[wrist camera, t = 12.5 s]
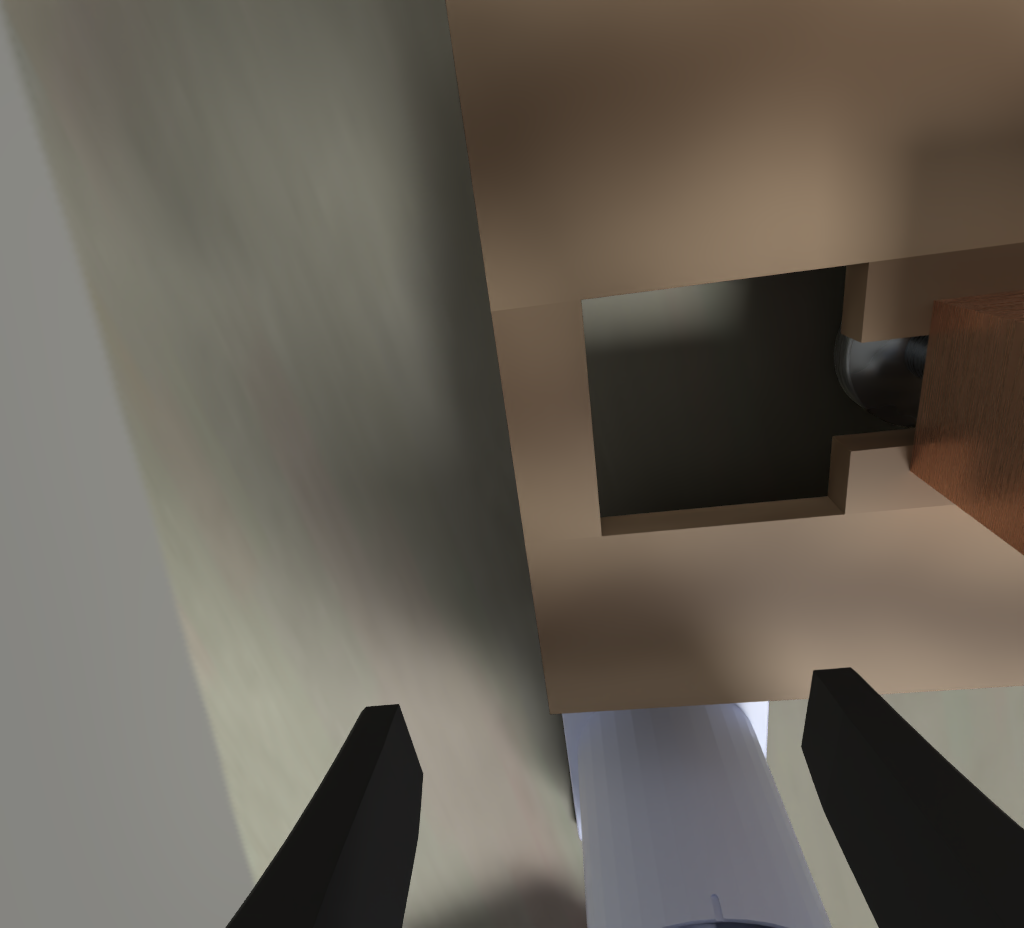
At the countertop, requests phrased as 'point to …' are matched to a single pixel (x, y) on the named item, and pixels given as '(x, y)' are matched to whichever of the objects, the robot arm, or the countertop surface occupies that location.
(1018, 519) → the brown piece
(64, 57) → the countertop surface
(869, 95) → the keyhole board
